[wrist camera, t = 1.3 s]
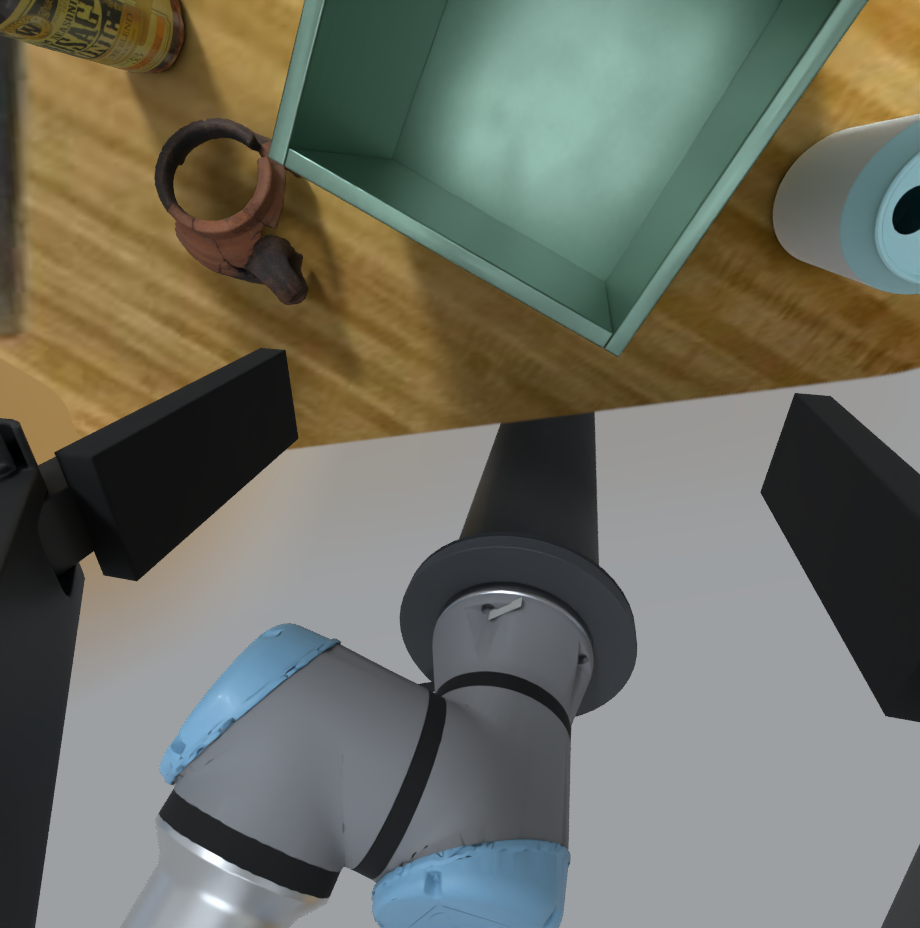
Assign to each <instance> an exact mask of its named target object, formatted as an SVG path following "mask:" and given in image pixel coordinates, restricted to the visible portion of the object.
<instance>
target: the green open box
mask: <svg viewBox="0 0 920 928" xmlns="http://www.w3.org/2000/svg"><path fill="white" fill-rule="evenodd" d="M868 1H869V0H305V2H304V6H303V10H302V14H301V19H300V23H299V27H298V31H297V36H296V40H295V44H294V48H293V52H292V57H291V61H290V65H289V69H288V74H287V78H286V82H285V86H284V91H283V95H282V99H281V103H280V108H279V112H278V116H277V120H276V125H275V129H274V133H273V137H272V141H271V146H270V150H269V154H268V157H269V158H270V159H272V160H274V161H275V162H277V163H279V164H281V165H282V166H285V167H286V168H288V169H289V170H291V171H293V172H295V173H296V174H298V175H300V176H302V177H303V178H305V179H307V180H309V181H310V182H312V183H314V184H316V185H317V186H319V187H321V188H323V189H324V190H326V191H328V192H330V193H331V194H333V195H335V196H337V197H339V198H340V199H342V200H344V201H346V202H347V203H349V204H351V205H353V206H354V207H356V208H358V209H360V210H361V211H363V212H365V213H367V214H368V215H370V216H372V217H374V218H375V219H377V220H379V221H381V222H382V223H384V224H386V225H388V226H389V227H391V228H393V229H395V230H396V231H398V232H400V233H402V234H403V235H405V236H407V237H409V238H410V239H412V240H414V241H416V242H417V243H419V244H421V245H423V246H424V247H426V248H428V249H430V250H431V251H433V252H435V253H437V254H438V255H440V256H442V257H444V258H445V259H447V260H449V261H451V262H452V263H454V264H456V265H458V266H459V267H461V268H463V269H465V270H466V271H468V272H470V273H472V274H473V275H475V276H477V277H479V278H480V279H482V280H484V281H486V282H487V283H489V284H491V285H493V286H494V287H496V288H498V289H500V290H501V291H503V292H505V293H507V294H508V295H510V296H512V297H514V298H515V299H517V300H519V301H521V302H522V303H524V304H526V305H528V306H529V307H531V308H533V309H535V310H536V311H538V312H540V313H542V314H543V315H545V316H547V317H549V318H550V319H552V320H554V321H556V322H557V323H559V324H561V325H563V326H564V327H566V328H568V329H570V330H571V331H573V332H575V333H577V334H578V335H580V336H582V337H584V338H585V339H587V340H589V341H591V342H592V343H594V344H596V345H598V346H599V347H601V348H604V349H605V350H607V351H608V352H610V353H612V354H614V355H615V356H617V357H619V356H620V355H621V354H622V352H623V351H624V349H625V348H626V346H627V345H628V344H629V342H630V341H631V339H632V338H633V336H634V335H635V334H636V332H637V331H638V329H639V328H640V326H641V325H642V324H643V322H644V321H645V319H646V318H647V316H648V315H649V314H650V312H651V311H652V309H653V308H654V306H655V305H656V304H657V302H658V301H659V299H660V298H661V296H662V295H663V294H664V292H665V291H666V289H667V288H668V286H669V285H670V284H671V282H672V281H673V279H674V278H675V276H676V275H677V274H678V272H679V271H680V269H681V268H682V266H683V265H684V264H685V262H686V261H687V259H688V258H689V256H690V255H691V254H692V252H693V251H694V249H695V248H696V246H697V245H698V244H699V242H700V241H701V239H702V238H703V236H704V235H705V234H706V232H707V231H708V229H709V228H710V226H711V225H712V224H713V222H714V221H715V219H716V218H717V216H718V215H719V214H720V212H721V211H722V209H723V208H724V206H725V205H726V204H727V202H728V201H729V199H730V198H731V196H732V195H733V193H734V192H735V191H736V189H737V188H738V186H739V185H740V183H741V182H742V181H743V179H744V178H745V176H746V175H747V173H748V172H749V171H750V169H751V168H752V166H753V165H754V163H755V162H756V161H757V159H758V158H759V156H760V155H761V153H762V152H763V151H764V149H765V148H766V146H767V145H768V143H769V142H770V141H771V139H772V138H773V136H774V135H775V133H776V132H777V131H778V129H779V128H780V126H781V125H782V123H783V122H784V121H785V119H786V118H787V116H788V115H789V113H790V112H791V111H792V109H793V108H794V106H795V105H796V103H797V102H798V101H799V99H800V98H801V96H802V95H803V93H804V92H805V91H806V89H807V88H808V86H809V85H810V83H811V82H812V81H813V79H814V78H815V76H816V75H817V73H818V72H819V71H820V69H821V68H822V66H823V65H824V63H825V62H826V61H827V59H828V58H829V56H830V55H831V53H832V52H833V51H834V49H835V48H836V46H837V45H838V43H839V42H840V41H841V39H842V38H843V36H844V35H845V33H846V32H847V31H848V29H849V28H850V26H851V25H852V23H853V22H854V21H855V19H856V18H857V16H858V15H859V13H860V12H861V11H862V9H863V8H864V6H865V5H866V3H867V2H868Z"/></svg>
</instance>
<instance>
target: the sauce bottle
mask: <svg viewBox="0 0 920 928" xmlns="http://www.w3.org/2000/svg"><path fill="white" fill-rule="evenodd" d="M184 30H185V29H184V24H183V21H182V13H181V9H180V3H179V1H178V0H0V35H2V36H4V37H7V38H12V39H16V40H19V41H22V42H26V43H30V44H33V45H36V46H40V47H43V48H47V49H50V50H53V51H58V52H62V53H65V54H68V55H72V56H76V57H79V58H83V59H87V60H90V61H94V62H97V63H101V64H104V65H108V66H111V67H115V68H119V69H122V70H126V71H130V72H138V73H139V72H152V73H158V72H161V71H162V70H167V69H169V67H170V66H171V65H172V64H173V63H174V61H175V60H176V58H177V56H178V54H179V53H180V48H181V47H182V45H183V41H184Z"/></svg>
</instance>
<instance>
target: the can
mask: <svg viewBox="0 0 920 928" xmlns="http://www.w3.org/2000/svg"><path fill="white" fill-rule="evenodd" d="M773 225H774V230H775V233H776V236H777V238H778V240H779V242H780V244H781V245H782V247H783V248H784V249H785V250H786V251H787V252H788V253H789V254H790V255H792V256H793V257H795V258H797V259H799V260H801V261H803V262H806V263H809V264H811V265H814V266H817V267H819V268H822V269H825V270H827V271H830V272H833V273H835V274H838V275H841V276H844V277H846V278H849V279H852V280H854V281H857V282H860V283H862V284H865V285H868V286H870V287H873V288H876V289H879V290H882V291H885V292H890V293H896V294H920V114H916V115H911V116H906V117H902V118H897V119H892V120H887V121H882V122H877V123H872V124H867V125H862V126H857V127H852V128H848V129H844V130H841V131H838V132H836V133H833V134H831V135H829V136H827V137H825V138H823V139H822V140H820V141H818V142H817V143H815V144H814V145H813V146H811V147H810V148H809V149H808V150H806V151H805V152H804V153H803V154H802V155H801V156H800V157H799V158H798V159H797V160H796V161H795V163H794V164H793V165H792V166H791V168H790V169H789V170H788V172H787V173H786V175H785V177H784V178H783V180H782V182H781V184H780V186H779V189H778V191H777V194H776V197H775V201H774V207H773Z"/></svg>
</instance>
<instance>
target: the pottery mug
mask: <svg viewBox="0 0 920 928" xmlns="http://www.w3.org/2000/svg"><path fill="white" fill-rule="evenodd" d="M218 138H230V139H234V140H237V141H239V142H241V143H243V144H245V145H246V146H248V147H249V148H250V149H252V150H255V151H258V152H259V153H260V155H261V157H262V158H259V159H258V161H257V163H258V184H257V187H256V190H255V192H254V194H253V196H252V198H251V199H250V201H249V202H248V204H247V205H246V206H245V207H244V209H243V210H242V211H240V212H238V213H237V214H235V215H233V216H231V217H228V218H226V219H222V220H216V221H206V220H200V219H197V218H195V217H193V216H190V215H189V214H187V213H186V212H185V211H184V210H183V209H182V208H181V207H180V206H179V205H178V203H177V201H176V198H175V194H174V188H173V180H174V175H175V171H176V169H177V167H178V165H182V164H183V163H184V161H185V158H186V156H187V155H188V154H189V153H190V152H191V150H193V149H194V148H195V147H197V146H199V145H200V144H202V143H204V142H206V141H208V140H211V139H218ZM271 141H272V140H271V139H269V138H266V137H264V136H262V135H259V134H256V133H254V132H252V131H251V130H250V129H249V128H247V127H245V126H243V125H241V124H239V123H236V122H233V121H231V120H228V119H222V118H212V119H206V120H205V121H204V120H199V121H195V122H191V123H190V124H189V125H186V126H184V127H182V128H180V129H179V130H178V131H177V132H175V133H174V134H173V135H172V136H171V137H170V138H169V139H168V140H167V142H166V143H165V145H164V146H163V148H162V152H161V153H160V154H159V158H158V161H157V164H156V167H155V168H156V170H155V186H156V189H157V192H158V195H159V198H160V200H161V202H162V204H163V206H164V207H165V208H166V210H167V212H168V213H169V214H171V216H172V217H173V218H174V219H175V220H177V221H176V223H175V225H176V227H175V231H176V236H177V237H178V239H179V240H180V242H181V243H182V245H183V246H184V247H185V248H186V250H187V251H188V252H189V253H190V254H191V255H192V256H193V257H194V258H195V259H197V260H198V261H199V262H200V263H201V264H202V265H204V266H205V267H207V268H209V269H210V270H212V271H214V272H217V273H220V274H222V275H226V276H230V277H233V278H237V279H241V280H245V281H248V282H252V283H257V284H265V285H267V286H268V287H269V288H270V289H271V290H272V292H273V293H274V294H275V295H276V296H277V297H278V299H279V300H280V301H281V302H282V303H284V304H285V305H292V304H298V303H301V302H302V301H303V300H304V299H305V298H306V295H307V291H308V286H307V284H306V281H305V279H304V277H303V275H302V272H301V265H302V260H303V256H302V255H301V254H299V253H297V252H295V249H294V248H293V247H292V246H291V245H290V243H289V242H288V241H287V240H285V239H283V238H280V237H277V236H273V235H269V236H265V237H264V238H261V235H262V230H263V228H264V226H267V227H270V228H273V229H275V228H276V226H277V224H278V220H279V217H280V213H281V210H282V207H283V203H284V193H285V186H286V175H285V169H286V170H289V169H288V168H286V167H285V166H282V165H281V164H279V163H277V162H275V161H274V160H272V159H270V158H269V157H268V154H269V150H270V146H271ZM289 171H290V172H291V173H293V174H294V175H295V176H296V177H298V178H300V177H301V176H300V175H298V174H296V173H295V172H293V171H291V170H289ZM244 268H246V269H248V270H246V269H244Z"/></svg>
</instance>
